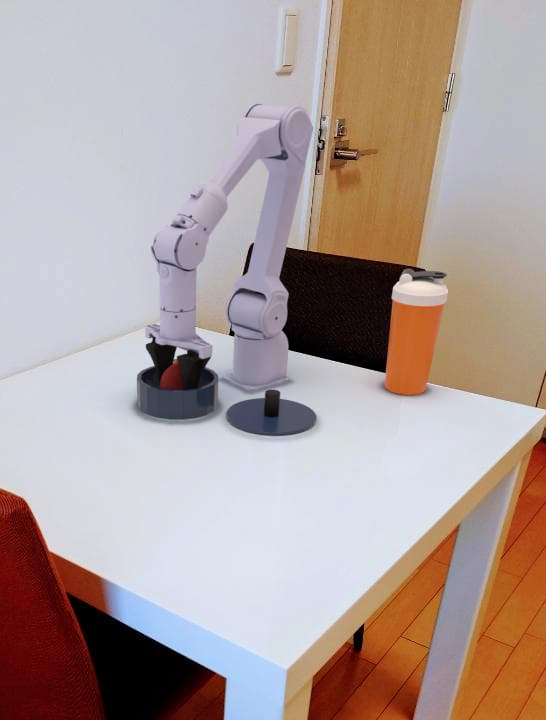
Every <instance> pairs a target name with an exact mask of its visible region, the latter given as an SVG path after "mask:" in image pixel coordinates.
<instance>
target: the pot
mask: <svg viewBox="0 0 546 720" xmlns="http://www.w3.org/2000/svg"><path fill="white" fill-rule="evenodd" d="M173 364H174V362H173ZM218 401H219V374H218V373H216V371H215V370H213V369H212V368H209V367H207V366H206V367H205V368H204V370H203V373H202V375H201V378H200V381H199V384H198V388H196V389H189V390H166V389H161V388H160V384H159V380H158V376H157V373H156V369H155V366H154V365H151V366H149V367H146V368H144V369H142V370H140V372H139V373H137V375H136V404H137V405H136V406H137V408H138V409H139V411H141V412H142V413H143V414H145V415H148V416H150V417H154V418H158V419H163V420H169V421H170V420H172V421H173V420H175V421H177V420H179V421H180V420H181V421H183V420H192V419H197V418H201V417H205V416H208V415H210V414H212V413H214V412H215V410H217V408H218V403H219V402H218Z"/></svg>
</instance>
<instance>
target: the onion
mask: <svg viewBox="0 0 546 720" xmlns="http://www.w3.org/2000/svg"><path fill="white" fill-rule="evenodd" d="M173 363H174V364H173V365H171V366H170V367H169V368H168V369H166V371H165V372H164V373H163V375H162V378H161V382H160V388H161V389H166V390H183V380H182V372H181V368H180V365H179V362H178V360H177V358H174V362H173Z"/></svg>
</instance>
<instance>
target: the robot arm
mask: <svg viewBox="0 0 546 720" xmlns="http://www.w3.org/2000/svg"><path fill="white" fill-rule="evenodd" d="M313 131H314V126H313V123H312V121H311V118H310V115H309V114H308V111H307V110H306V109H305V107H302V106H301V105H294V106H287V105H270V104H262V103H253V104H251V105H249V106H248V107H247V108H246V110H245V111H244V113H243V116H242V117H240V119H239V120H238V121H237V124H236V137H235V139H234V140H233V141H232V143H231V145H230V147H229V148H228V150H227V152H226V153H225V155H224V156H223V159H222V160H221V162H220V163H219V165H218V167H217V169H216V171H214V174H213V175H212V177H211V179H210V180H209V182H208V183H202V184H198V185H197V186H196V187H193V189H192V190H191V191H190V193H189V197H188V199H187V200H186V202H185V203H184V204H183V205H182V207H181V209H180V210H179V212H178V213H177V215H176V216H175V217H174V218H173V219H172V222H171V223H170V224H168V225H166V226H163V227H162V228H160V230H158V231H157V233H156V234H155V235H154V238H153V243H152V245H150V254H151V256H152V258H153V260H154V262H155V263H156V273H158V275H159V324H157V323H151V324H147V325H144V336H145V338H147V339H152V340H151V342H148V343H146V344H145V349H146V351H147V353H148V354H149V357H150V359H151V360H152V364H153V366H155V369H156V373H157V376H158V380H159V384H160V382H161V378H162V375H163V373H164V372H165V371H166V369H168V368H169V367H170V366H171V365H173V363H174V359H175V356H176V352H177V348H178V349H181V350H182V351H186V353H182V354H180V355H179V354H178V355H177V356H176V359H177V360H178V362H179V365H180V368H181V372H182V380H183V390H189V389H196V388H198V384H199V381H200V378H201V375H202V373H203V370H204V368H205V367H207V365H208V363H209V361H210V360H211V358H212V357H213V344H212V343H210V342H207V341H206V340H205V339H204V338H203V337H201V336H200V335H199V334H197V333H196V332H197V331H196V329H197V327H196V325H197V323H196V322H197V267H198V266H199V265H200V264H201V263H202V262H203V261H204V259H205V255H206V251H207V245H208V244H209V240H210V236H211V234H212V233H213V232H214V230H215V228H216V227H217V226H218V224H219V223H220V221H221V220H222V218H223V217H224V216H225V214H226V213H227V211H228V196H229V195H231V193H232V192H233V190H235V188H236V187H237V186H238V185H239V183H240V182H241V180H242V179H243V178H244V177H245V176H246V174H248V172H249V171H250V169H252V167H253V166H254V164H255V163H256V162H257V161H261V162H262V163H263V164H264V166H265V168H266V170H267V172H268V178H267V184H266V188H265V192H264V197H263V202H262V206H261V211H260V216H259V219H258V225H257V229H256V233H255V238H254V244H253V247H252V251H251V256H250V261H249V266H248V269H247V272H246V273H245V274H244V275H242V276H241V277H240V278H238V279H237V280H236V281H235V282H234V285H233V289H232V292H231V294H230V296H229V297H228V299H227V302H226V305H225V318H226V320H227V322H228V323H229V324H230V325H231V331H233V332H234V337H233V338H234V339H233V340H234V341H233V360H232V361H233V362H232V373H231V374H226V375H223V376H222V379H226V380H227V381H230V382H231V383H234V384H236V385H238V386H240V387H242V388H245V389H246V390H255V389H259V388H262V387H265V386H269V385H273V384H277V383H280V382H285V381H288V380H290V377H288V376H287V370H288V360H289V340H288V337H287V335H286V334H285V332H284V331H283V328H284V327H285V325H286V322H287V321H288V300H289V295H290V294H289V291H288V290H287V288H286V287H285V286H284V284H283V283H282V281H281V279H280V276H281V272H282V268H283V265H284V264H283V263H284V259H285V255H286V250H287V247H288V242H289V237H290V233H291V229H292V225H293V221H294V217H295V212H296V207H297V203H298V199H299V195H300V192H301V191H300V190H301V186H302V182H303V179H304V178H303V177H304V173H305V168H306V163H307V158H308V153H309V149H310V145H311V140H312V136H313V133H314V132H313ZM256 292H257V293H256ZM259 293H261V294H259ZM262 294H263V295H262Z"/></svg>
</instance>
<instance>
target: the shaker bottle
mask: <svg viewBox="0 0 546 720" xmlns="http://www.w3.org/2000/svg"><path fill="white" fill-rule="evenodd" d="M447 275H448V274H447V273H445V272H443V271H436V270H422V271H421V270H420V271H414V270H413V269H412V268H406V269H404V270H403V271H402V272H401V275H400V277H399V281H397V282H396V283H395V284H394V285H393V287H392V293H391V300H392V303H391V304H392V305H391V314H390V323H389V324H390V325H389V335H388V345H387V346H388V347H387V354H386V355H387V357H386V366H385V367H386V368H385V377H384V388H385V389H386V390H387V391H388V392H391V393H394V394H396V395H404V396H415V395H420V394H423V393H424V392H425V391H426V389H427V386H428V385H427V384H428V381H429V375H430V372H431V367H432V362H433V358H434V354H435V349H436V345H437V340H438V336H439V331H440V327H441V322H442V318H443V314H444V310H445V305H446V304H447V303H448V296H449V290H448V288H447V285H446V284H445V282H444V279H445V277H447Z"/></svg>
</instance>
